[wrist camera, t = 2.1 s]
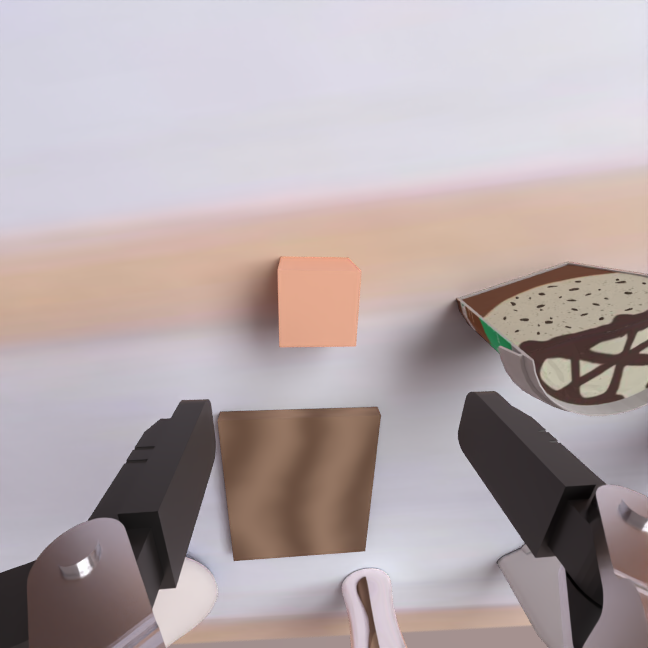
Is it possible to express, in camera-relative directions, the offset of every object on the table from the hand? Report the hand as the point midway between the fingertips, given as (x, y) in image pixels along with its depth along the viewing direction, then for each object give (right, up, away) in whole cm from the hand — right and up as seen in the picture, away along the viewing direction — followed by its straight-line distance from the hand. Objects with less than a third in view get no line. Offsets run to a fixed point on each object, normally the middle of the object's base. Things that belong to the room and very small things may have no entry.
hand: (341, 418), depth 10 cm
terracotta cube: (-1, +6, +14) cm, 15 cm away
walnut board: (-3, -13, +21) cm, 25 cm away
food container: (+16, +4, +17) cm, 23 cm away
